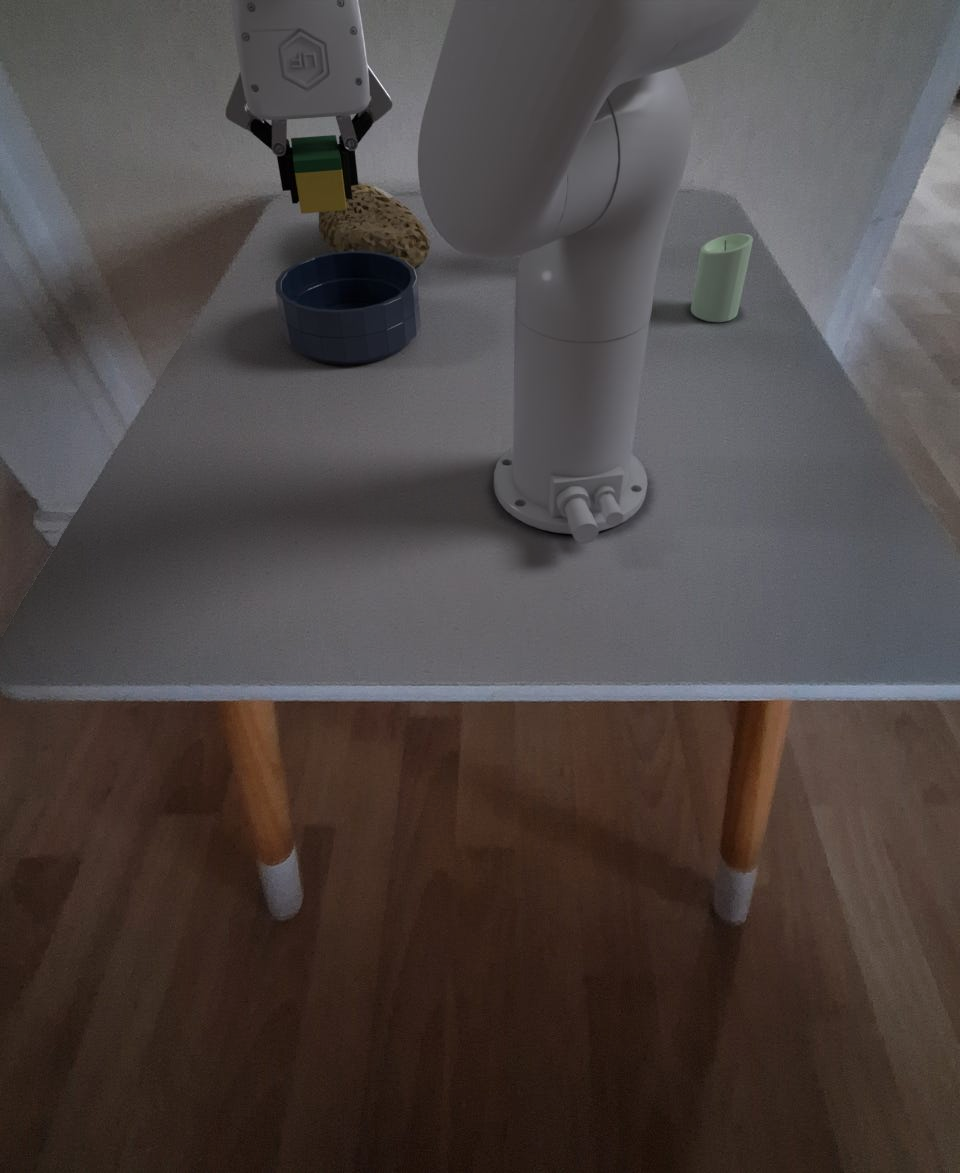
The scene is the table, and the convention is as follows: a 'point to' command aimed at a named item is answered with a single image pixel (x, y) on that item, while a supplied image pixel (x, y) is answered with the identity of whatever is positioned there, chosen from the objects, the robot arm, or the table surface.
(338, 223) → the sponge
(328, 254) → the bowl
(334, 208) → the scrub sponge
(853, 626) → the table surface
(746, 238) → the candle
